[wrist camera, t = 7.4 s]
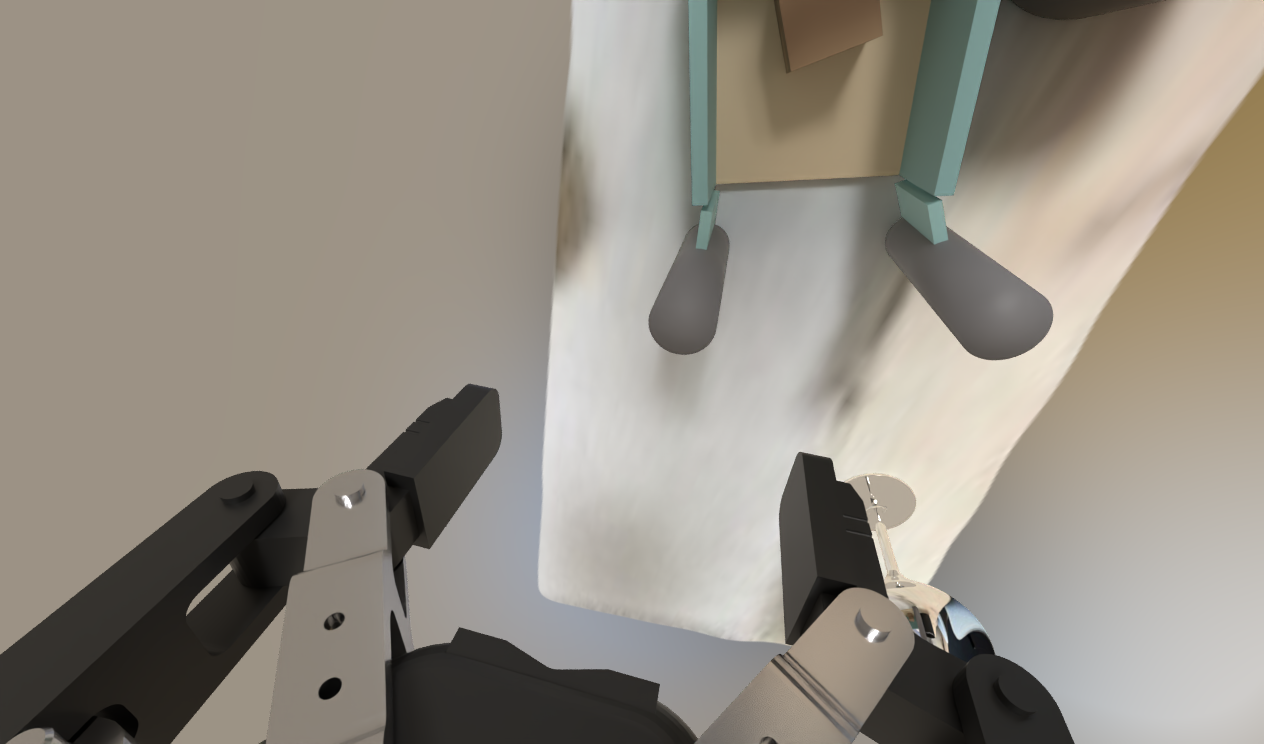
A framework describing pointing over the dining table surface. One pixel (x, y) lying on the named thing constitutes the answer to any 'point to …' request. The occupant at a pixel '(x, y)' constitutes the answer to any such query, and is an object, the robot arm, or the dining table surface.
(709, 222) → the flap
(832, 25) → the walnut block
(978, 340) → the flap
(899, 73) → the teal open box
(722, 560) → the dining table surface
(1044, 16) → the mug
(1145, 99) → the dining table surface
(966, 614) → the wineglass
